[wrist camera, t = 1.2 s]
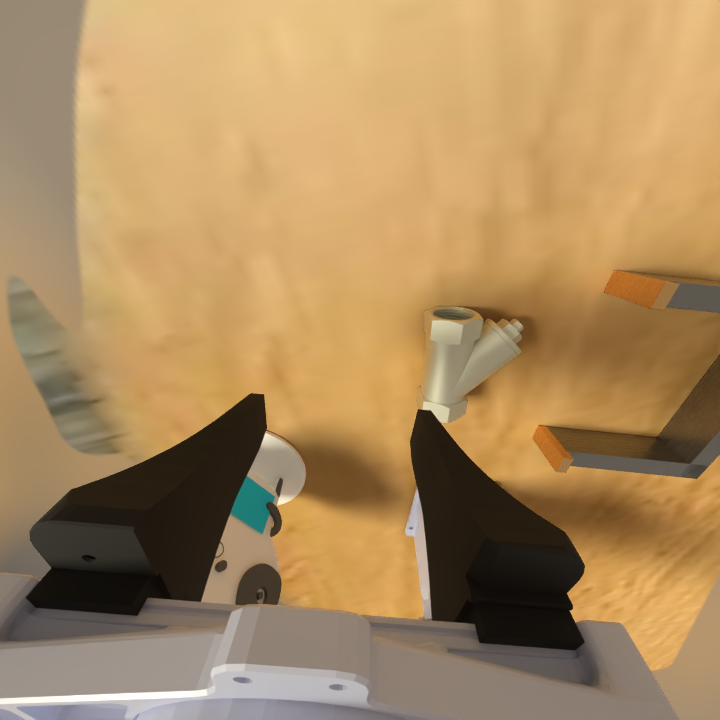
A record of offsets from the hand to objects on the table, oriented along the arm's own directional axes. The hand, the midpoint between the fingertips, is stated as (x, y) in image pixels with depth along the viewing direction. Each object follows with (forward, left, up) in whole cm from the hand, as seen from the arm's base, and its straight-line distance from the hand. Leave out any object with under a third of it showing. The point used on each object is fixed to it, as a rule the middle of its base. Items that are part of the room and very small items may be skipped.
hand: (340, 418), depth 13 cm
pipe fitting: (-1, -9, -11) cm, 14 cm away
